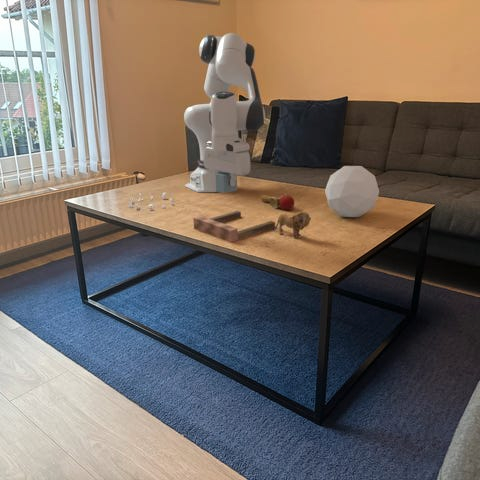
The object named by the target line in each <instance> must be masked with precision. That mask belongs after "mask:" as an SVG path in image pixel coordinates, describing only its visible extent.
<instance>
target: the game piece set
mask: <svg viewBox="0 0 480 480" xmlns="http://www.w3.org/2000/svg"><path fill="white" fill-rule="evenodd" d="M138 195H139V198H138V199H137V201H138V202H142V201H141V200H143V201H144V198H142V197H141V196H142V194H141V193H139V194H138ZM149 196H150V199H151V200H154V196H153V195H152V194H151V192H149ZM166 197H167V192H162V199H163V200H166ZM129 200H130V202H129V204H128V208H130V209H132V208H135V209H136V210H137V211H138V210H139V209H141V205H140V206H139V205H138V204H135V207H134V206H133V204H134V198H132V197H130V198H129ZM169 202H170V205H172V204H173V205H174V202H175V201H174V199H173V198H172V197H171V198H170V199H169ZM132 203H133V204H132ZM153 206H154V205H153V204H152V203H150V204H148V209H149V211H153V210H154V209H153ZM161 207H162V209H166V205H165V204H164V203H163V205H162V206H161Z"/></svg>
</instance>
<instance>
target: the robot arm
mask: <svg viewBox="0 0 480 480" xmlns="http://www.w3.org/2000/svg"><path fill="white" fill-rule="evenodd" d="M199 43H200V44H199V47H198V48H199V49H198V52H199V53H198V54H199V58H200V60H201V61H202V62H203V63H205V64H208V67H207V71H206V77H205V80H204V81H205V82H204V86H203V88H204V93H205V94H206V96H207V97H208V98H210V102H209V103H203V104H202V103H200V104H195V105H192V106H189V107H187V108H186V109H185V111H184V114H183V121H184V123H185V125H186V127H187V128H188V129H189V130H191V131H192V132H193V133H194V135H195V136H196V138H197V141H198V146H199V157H200V159H197V162H196V163H198V166H197V168H196V169H195V170H194V171H193V172H191V173H190V175H189V182H188V183H186V184H184V185H185V187H186V188H188V189H190V190H192V191H194V192H197V193H217V192H216V174H218V173H223V172H226V173H230V176H231V179H230V181H228V183H229V184H228V185H229V186H235V180H236V178H237V179H238V176H242V177H243V176H247V175H249V173H250V172H251V155H250V153H249V150H250V144H249V143H248V142H246V140H243V139H242V138H241V137H239V131H249V132H257V131H259V130H260V129H262V127H263V126H264V125H265V120H266V111H265V108H264V105H263V102H262V99H261V95H260V90H259V84H258V80H257V76H256V73H255V70H254V68H252V66H253V65H254V62H255V59H256V53H255V51H256V50H255V48H254V46H253V45H252V44H250V43H248V42H244V40H243V39H242V37H241V36H240V35H238V34H237V33H234V32H233V33H230V32H229V33H226V34H224V35H223V36H215V35H214V34H207V35H205V36H203V38H202V39H201V41H200V42H199ZM231 86H235V87H240V88H243V89H244V90H246V92H247V96H248V100H242V101H241V100H240V101H239V100H238V101H237V97H236V94H235V93H234V92H232V91H230V90H231Z"/></svg>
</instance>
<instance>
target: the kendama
mask: <svg viewBox="0 0 480 480" xmlns="http://www.w3.org/2000/svg"><path fill="white" fill-rule="evenodd" d="M261 201H262V202H263V203H269V204H270V207H271V208H272V209H274V210H277V209H278V208H279V207H280V208H281V209H282V210H285V211H289V210H291V209H293V208H294V205H295V199H294V198H293V197H292V195H289V194H287V193H282V194H281V196H280V197H276V196H269V195H267V194H263V195H262V196H261Z"/></svg>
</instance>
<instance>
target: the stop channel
mask: <svg viewBox="0 0 480 480" xmlns="http://www.w3.org/2000/svg"><path fill="white" fill-rule="evenodd" d="M241 216H242V211H240V210H235V211H232V212H229V213H228V212H227V213H225V214H221V215H218V216H214V217H210V218H207V217H206V216H201V215H198V216H194V217H193V229H194V230H197V231H200V232H203V233H206V234H208V235H211V236H214V237H216V238H219V239H222V240H225V241H227V242H229V243H232V242H236V241H239V240H242V239H244V238H247V237H250V236H253V235H254V236H255V235H256V234H260V233H262V232H263V233H264V232H266V231H268V230H272V229H273V228H274V227H276V221H272V220H269V221H266V222H263V223H260V224H257V225H254V226H249V227H247V228H244V229H241V230H239V231H238V227H235V226H231V225H228V224H225V222H228V221H231V220H236V219H238V218H241Z"/></svg>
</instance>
